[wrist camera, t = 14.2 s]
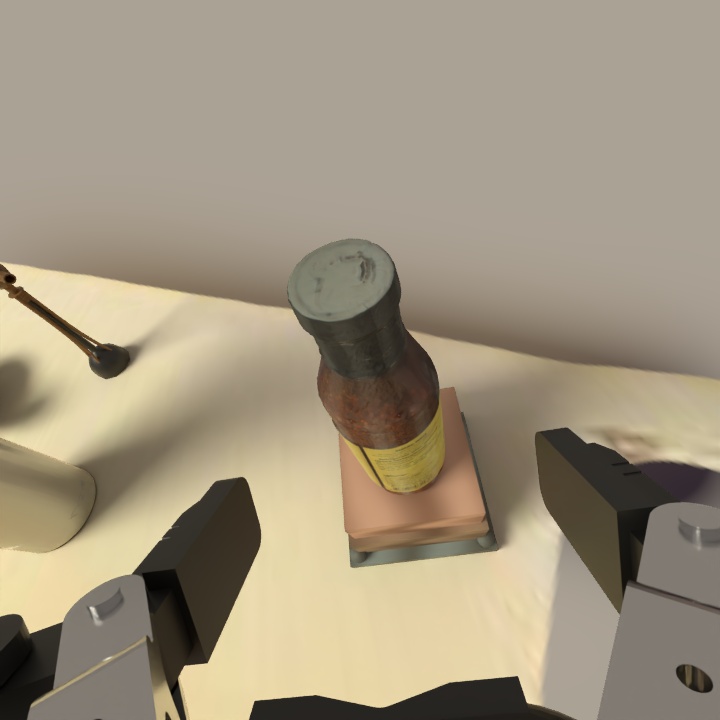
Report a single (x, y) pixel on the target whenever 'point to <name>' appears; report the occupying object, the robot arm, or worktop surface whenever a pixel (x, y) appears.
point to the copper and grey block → (419, 505)
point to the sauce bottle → (371, 364)
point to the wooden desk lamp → (71, 332)
